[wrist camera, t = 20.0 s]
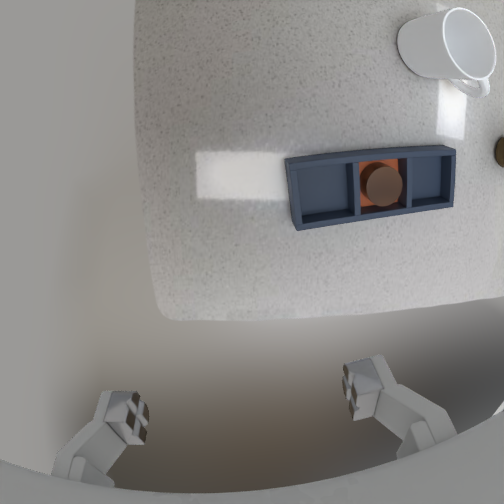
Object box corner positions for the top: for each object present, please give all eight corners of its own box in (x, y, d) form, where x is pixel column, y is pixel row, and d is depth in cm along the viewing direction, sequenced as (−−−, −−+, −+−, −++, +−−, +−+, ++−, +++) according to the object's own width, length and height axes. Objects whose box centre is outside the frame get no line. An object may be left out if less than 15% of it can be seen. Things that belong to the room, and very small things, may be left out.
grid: (284, 158, 35) (288, 163, 33) (443, 145, 35) (456, 149, 32) (292, 221, 39) (296, 231, 37) (441, 199, 39) (453, 207, 36)
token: (357, 163, 35) (365, 168, 33) (393, 160, 35) (402, 165, 33) (359, 202, 38) (366, 208, 36) (393, 197, 38) (402, 204, 35)
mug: (468, 78, 30) (519, 83, 21) (438, 111, 33) (489, 122, 24) (417, 10, 26) (465, -5, 17) (382, 40, 29) (428, 29, 20)
